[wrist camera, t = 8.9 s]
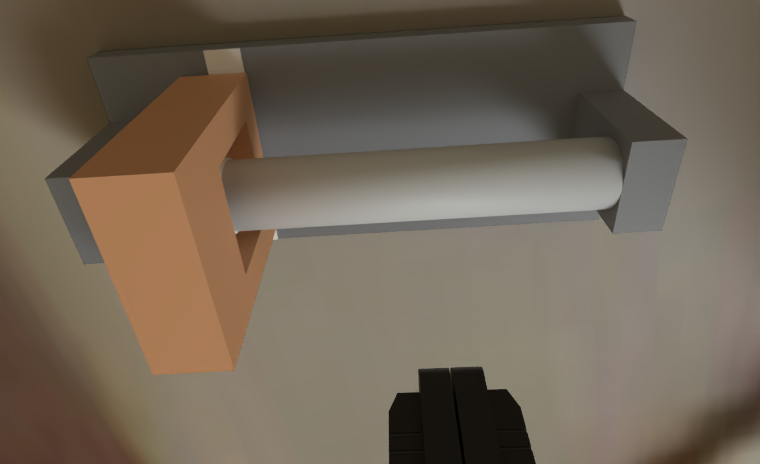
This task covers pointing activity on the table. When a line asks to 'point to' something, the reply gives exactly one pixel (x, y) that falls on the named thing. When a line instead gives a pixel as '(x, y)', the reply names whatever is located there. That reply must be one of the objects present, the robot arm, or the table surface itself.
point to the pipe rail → (417, 129)
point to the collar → (179, 223)
